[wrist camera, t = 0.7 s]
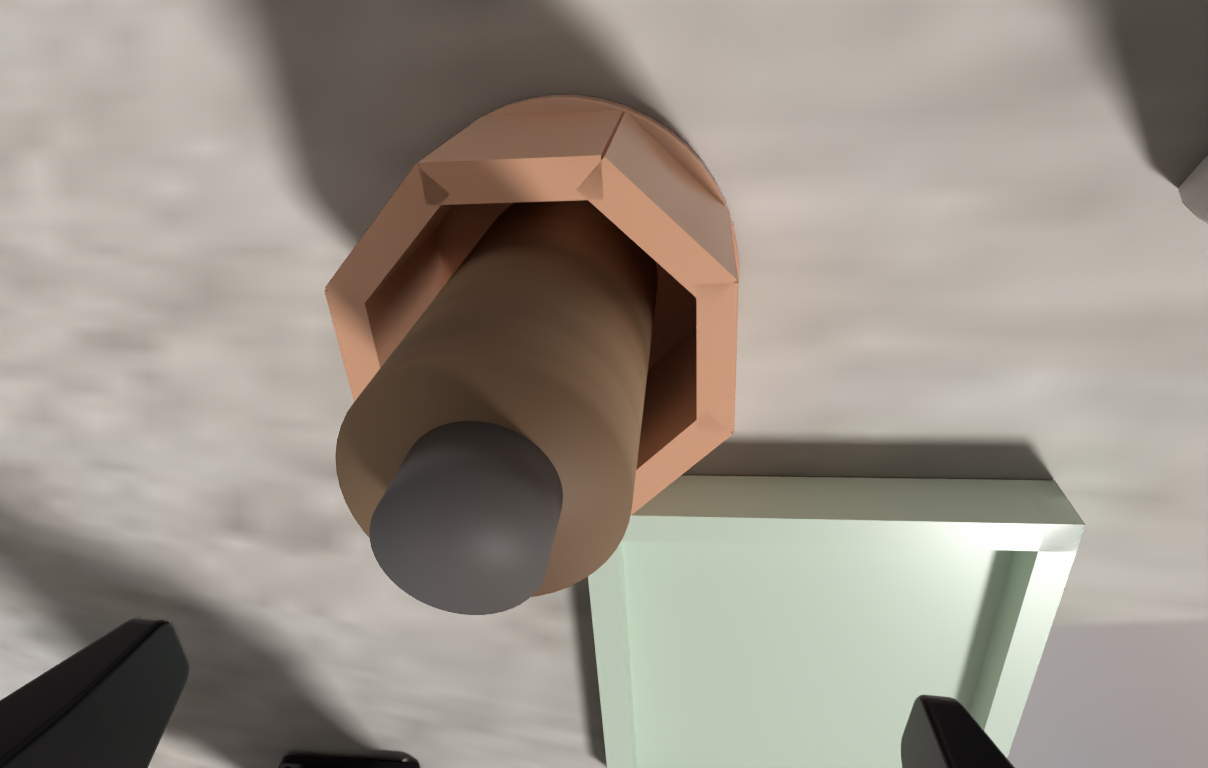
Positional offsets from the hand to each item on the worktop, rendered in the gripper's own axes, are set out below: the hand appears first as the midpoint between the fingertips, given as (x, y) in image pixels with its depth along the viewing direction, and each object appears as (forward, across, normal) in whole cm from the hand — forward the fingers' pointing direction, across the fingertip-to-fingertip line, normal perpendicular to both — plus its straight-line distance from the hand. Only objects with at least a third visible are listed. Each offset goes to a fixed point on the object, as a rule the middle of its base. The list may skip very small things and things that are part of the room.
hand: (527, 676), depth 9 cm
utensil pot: (+13, +2, 0) cm, 13 cm away
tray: (+13, -7, +15) cm, 21 cm away
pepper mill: (+12, +2, 0) cm, 12 cm away
